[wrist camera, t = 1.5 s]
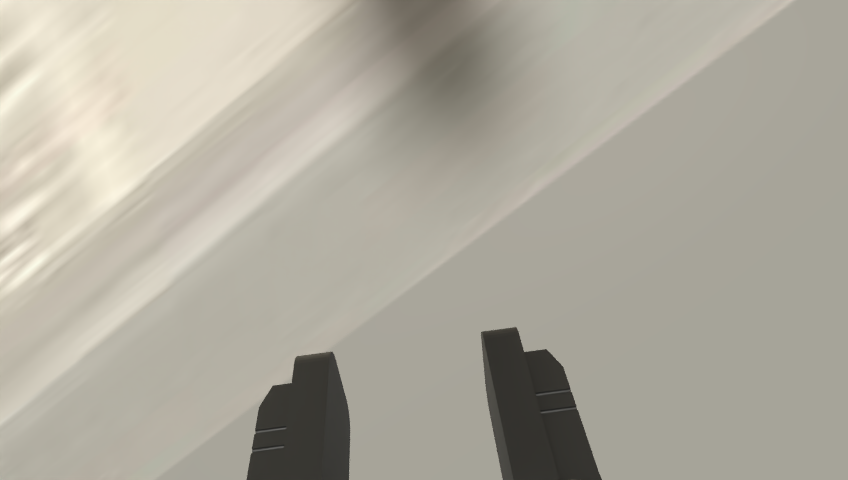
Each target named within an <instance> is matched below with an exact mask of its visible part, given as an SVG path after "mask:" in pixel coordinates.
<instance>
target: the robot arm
mask: <svg viewBox="0 0 848 480" xmlns="http://www.w3.org/2000/svg"><path fill="white" fill-rule="evenodd" d="M481 339H482V350H483V362H484V372H485V384H486V391H487V398H488V405H489V411H490V416H491V421H492V426H493V432H494V437H495V442H496V447H497V452H498V457H499V462H500V467H501V472H502V478H503V480H602V479H601V477H600V474H599V472H598V469H597V466H596V463H595V460H594V457H593V454H592V451H591V448H590V445H589V442H588V440H587V436H586V433H585V430H584V427H583V424H582V421H581V419H580V416H579V412H578V410H577V408H576V404H575V401H574V398H573V395H572V392H571V390H570V386H569V383H568V380H567V377H566V374H565V371H564V368H563V366H562V365H561V364H560V363H559V362H558V361H557V360H556V359H555V358H554V357H553V356H552V355H551V354H550V353H549V352H548V351H547V350H546V349H545V350H537V351H530V352H524V351H523V347H522V343H521V340H520V336H519V333H518V330H517V328H516V327H514V328H506V329H499V330H491V331H484V332H481ZM255 431H256V434H255V435H254V440H253V446H252V454H251V457H250V463H249V469H248V475H247V480H349V454H350V420H349V411H348V405H347V400H346V396H345V393H344V389H343V385H342V382H341V378H340V374H339V371H338V367H337V363H336V360H335V356H334V354H333V352H326V353H319V354H311V355H304V356H297V357H296V358H295V362H294V370H293V378H292V383H290V384H283V385H275V386H272V388H271V390H270V391H269V393H268V394H267V396H266V397H265V399H264V400H263V402H262V404H261V405H260V407H259V411H258V417H257V423H256V428H255Z"/></svg>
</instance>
